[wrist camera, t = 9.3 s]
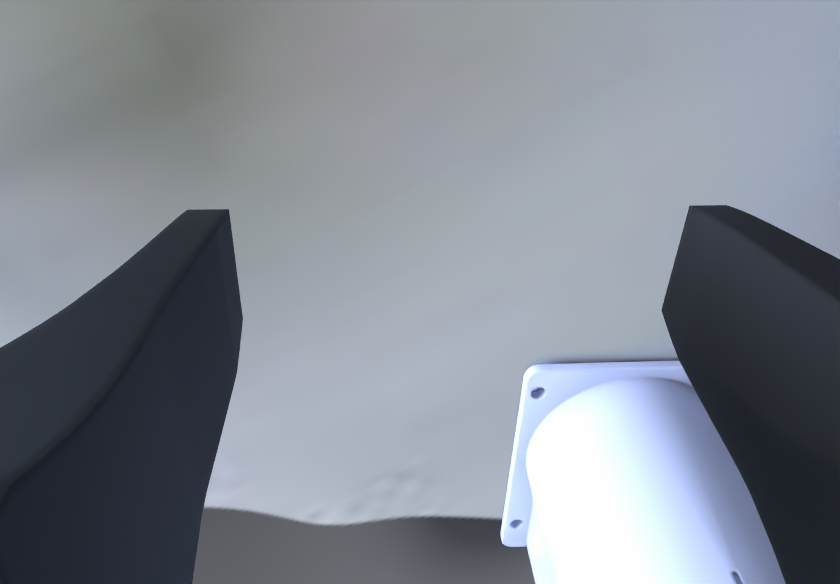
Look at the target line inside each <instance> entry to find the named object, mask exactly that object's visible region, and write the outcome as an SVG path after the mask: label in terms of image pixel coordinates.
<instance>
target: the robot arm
mask: <svg viewBox="0 0 840 584" xmlns="http://www.w3.org/2000/svg"><path fill="white" fill-rule="evenodd" d="M662 313H663V316H664V319H665V322H666V325H667V328H668V331H669V334H670V337H671V340H672V343H673V345H674V348H675V351H676V353H677V356H678V359H679V361H644V362H605V363H567V364H538V365H534V366H532V367H530V368H529V369H528V370H527V371H526V372H525V374H524V379H523V386H522V392H521V399H520V406H519V412H518V419H517V426H516V433H515V439H514V446H513V453H512V460H511V466H510V473H509V480H508V487H507V493H506V500H505V507H504V514H503V520H502V528H501V539H502V543H503V544H504V545H506V546H509V547H523V546H527V549H528V553H529V558H530V562H531V566H532V570H533V575H534V579H535V584H840V259H838V258H836V257H834V256H832V255H830V254H828V253H826V252H824V251H822V250H820V249H818V248H816V247H814V246H812V245H810V244H809V243H807V242H805V241H803V240H801V239H799V238H797V237H795V236H793V235H791V234H789V233H787V232H785V231H783V230H781V229H779V228H777V227H775V226H773V225H771V224H769V223H767V222H765V221H763V220H761V219H759V218H757V217H755V216H753V215H750V214H748V213H746V212H743V211H741V210H738V209H736V208H733V207H730V206H727V205H716V206H689V210H688V214H687V218H686V221H685V225H684V229H683V232H682V236H681V240H680V244H679V247H678V251H677V255H676V258H675V262H674V266H673V270H672V273H671V277H670V281H669V284H668V288H667V292H666V296H665V299H664V303H663V307H662ZM242 321H243V317H242V309H241V301H240V294H239V286H238V278H237V270H236V262H235V254H234V247H233V239H232V231H231V223H230V215H229V209H220V210H187V211H185V212H184V213H183V214H181V215H180V216H179V217H178V218H177V219H175V220H174V221H173V222H172V223H171V224H170V225H168V226H167V227H166V228H165V229H164V230H163V231H162V232H160V233H159V234H158V235H157V236H156V237H155V238H154V239H152V240H151V241H150V242H149V243H148V244H147V245H146V246H144V247H143V248H142V249H141V250H140V251H138V252H137V253H136V254H135V255H134V256H132V257H131V258H130V259H129V260H128V261H127V262H125V263H124V264H123V265H122V266H121V267H119V268H118V269H117V270H116V271H114V272H113V273H112V274H110V275H109V276H108V277H106V278H105V279H104V280H102V281H101V282H100V283H98V284H97V285H96V286H94V287H93V288H92V289H90V290H89V291H88V292H86V293H85V294H84V295H82V296H81V297H80V298H78V299H77V300H76V301H74V302H73V303H72V304H70V305H69V306H67V307H66V308H65V309H63V310H62V311H60V312H59V313H57V314H56V315H54V316H53V317H51V318H49V319H48V320H46V321H45V322H43V323H42V324H40V325H38V326H37V327H35V328H33V329H32V330H30V331H28V332H27V333H25V334H23V335H22V336H20V337H18V338H17V339H15V340H13V341H12V342H10V343H8V344H6V345H4V346H3V347H1V348H0V584H192V580H193V573H194V566H195V558H196V551H197V543H198V537H199V530H200V522H201V516H202V511H203V507H204V502H205V497H206V492H207V488H208V484H209V480H210V476H211V472H212V469H213V465H214V461H215V457H216V453H217V449H218V445H219V441H220V437H221V434H222V430H223V426H224V422H225V418H226V414H227V410H228V406H229V402H230V398H231V394H232V390H233V386H234V382H235V378H236V374H237V367H238V358H239V350H240V340H241V331H242ZM538 387H541V388H542V389H540V390H538V391H532V390H534V389H535V388H538Z"/></svg>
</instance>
